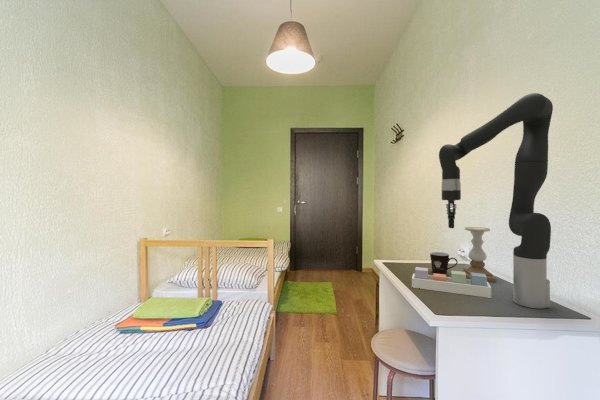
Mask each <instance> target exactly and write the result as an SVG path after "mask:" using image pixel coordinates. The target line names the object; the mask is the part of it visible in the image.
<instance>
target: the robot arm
mask: <svg viewBox="0 0 600 400" xmlns="http://www.w3.org/2000/svg"><path fill="white" fill-rule="evenodd" d="M553 107H554V106H553V102H552V101H551V99H549V98H548V97H546V96H544V94H541V93H538V92H533V93H528V94H526V95H524V96H522V97H521V98H519V99H518V100H517V101H515V102H513V104H511V105H510V106H508V108H506V109H504V110H503V111H501V113H499V114H498V115H496V116H495V117H493V118H492V119H491V120H489V121H488V122H486V123H485V124H483V125H482V126H481V125H480V127H478V128H476V129H474V130H473V131H471V132H469V133H467V134H466V135H463V137H462V138H461V139H460V141H459V142H458V143H456V144H451V143H450V144H444V145H443V146H442V147H441V148H440V150H439V152H438V159H439V163H440V168H441V200H442V201H447V203H446V204H445V208H446V215H447V220H448V228H449V229H455V219H456V216H455V215H456V214H457V213H456V212H457V211H456V209H457V204H456V203H455V201H460V200H461V199H462V193H461V191H462V188H461V186H462V184H461V170H460V167H459V166H458V165H457V162H456V161H459V160H461V159H463V158H464V157H466V156H467V155H468V154H470V152H472V151H475V150H476V149H478V148H480V147H482V146H484V145H486V144H487V143H489V142H490V141H492V140H493V139H495V138H496V137H497V136H498V135H499V134H501V133H502V132H504V131H505V130H506V129H508V128H510V127H511V126H513V125H516V124H518V123H521V122H522V132H523V133H522V139H521V143H520V145H519V147H518V150H517V152H516V155H515V159H514V171H513V173H514V176H513V190H512V202H511V207H510V210H509V211H510V213H509V217H508V227H509V230H510V231H511V233H512V234H514V235H516V236H519V237H521V238H520V239H521V241H520V244H519V245H517V246H515V247H514V248H513V251H512V253H513V258H512V259H513V264H512V265H513V273H512V274H513V277H512V278H513V279H512V280H513V283H512V284H513V287H512V289H513V290H512V291H513V294H512V296H513V302H514V303H515V304H517V305H519V306H522V307H526V308H531V309H538V310H540V309H541V310H542V309H546V308H550V307H551V293H550V292H551V280H550V279H548V278H547V275H548V273H547V272H548V271H547V269H548V267H547V266H548V265H547V263H548V261H547V258H548V253H549V251H550V248H551V239H552V237H551V236H552V225H551V222H550V219H549V218H548V217H547V216H546V215H545V214H542V213H540V212H534V211H535V201H536V197H537V195H538V193H539V191H540V190H541V188H542V187H543V185H544V183H545V181H546V179H547V177H548V168H549V132H550V131H549V130H550V125H551V120H552V115H553V111H554V108H553Z"/></svg>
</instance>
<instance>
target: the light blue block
mask: <svg viewBox="0 0 600 400" xmlns="http://www.w3.org/2000/svg"><path fill="white" fill-rule="evenodd" d="M471 285H478V286H486V287H487V276H486V275H485V274H481V273H471Z"/></svg>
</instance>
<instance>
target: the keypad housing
mask: <svg viewBox="0 0 600 400" xmlns="http://www.w3.org/2000/svg"><path fill="white" fill-rule="evenodd" d="M411 276H412V277H411V288H412V287H413V288H414V289H419V288H420V289H421V290H426V291H427V290H428V291H435V292H442V293H443V292H444V293H450V294H457V295H467V296H472V297H473V296H474V297H479V298H488V299H491V298H492V287H491V284H490V282H487V287H486V286H478V285H471V280H468V279H466V284H461V283H452V282H451V277H450V276H446V282H443V281H435V280H433V275H431V274H428V280H426V279H418V278H415V273H412V275H411ZM413 288H412V289H413Z"/></svg>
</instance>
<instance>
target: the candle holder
mask: <svg viewBox="0 0 600 400" xmlns="http://www.w3.org/2000/svg"><path fill="white" fill-rule="evenodd" d="M464 230H465V231H469V232H470V234H471V236H472V239H470V242H471V243H472V248H471V250H470V251H469V252H468V258H469V259H470V262H469V265H470V266H469V267H465V268H464V267H463V269H462V270H460V271H461V272H465V273H466V279H468V280H471V273H481V274H485V275H486V276H487V282H488V283H496V277H494V275H493V273H491V272H490V271H488V270H487V268H485V266H486V264H485V262H484V261H485V260H487V254H486V252H485V251H484V249H483V248H482V245H483V243H485V241H484V240H483V237H482V236H483V235H485V232H490V231H491V229H490V227H483V226H482V227H481V226H479V227H478V226H466V227H465V226H464Z"/></svg>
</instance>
